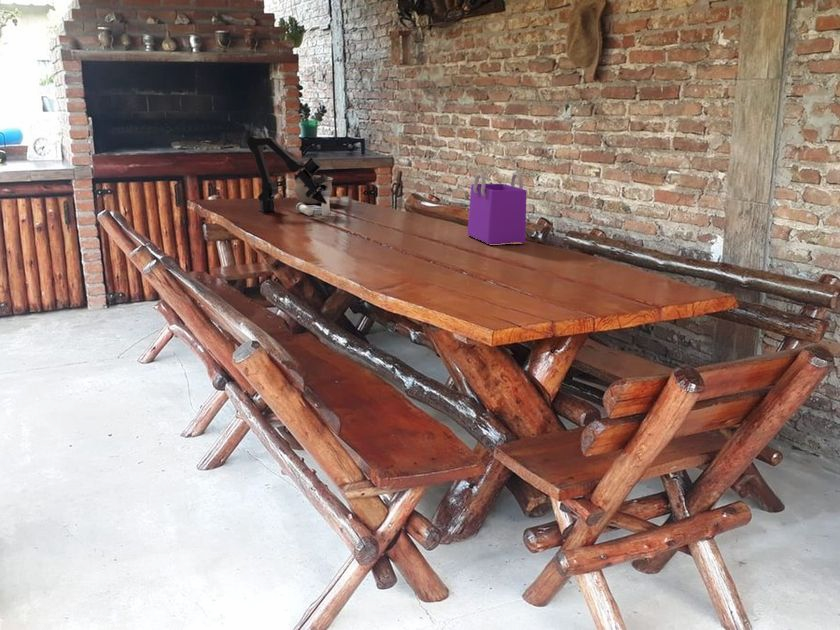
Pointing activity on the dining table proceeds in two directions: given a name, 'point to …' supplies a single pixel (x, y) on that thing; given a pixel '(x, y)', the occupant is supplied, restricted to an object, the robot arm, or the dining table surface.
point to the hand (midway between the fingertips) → (328, 203)
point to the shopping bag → (497, 211)
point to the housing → (316, 209)
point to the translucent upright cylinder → (326, 206)
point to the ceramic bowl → (302, 190)
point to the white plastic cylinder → (304, 209)
